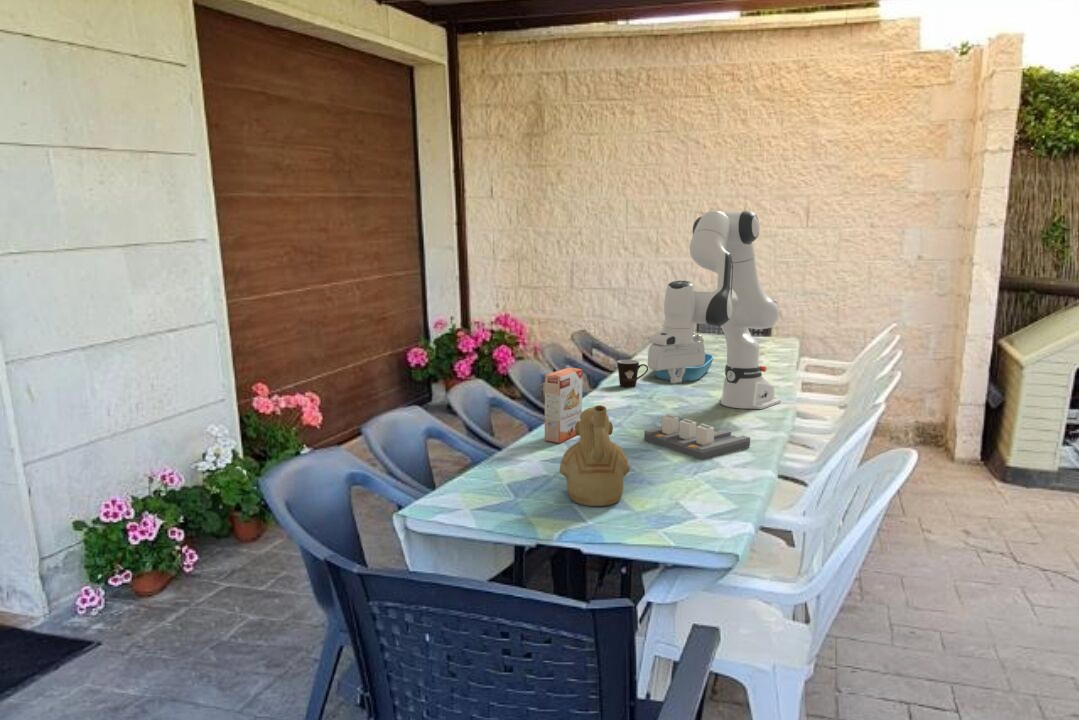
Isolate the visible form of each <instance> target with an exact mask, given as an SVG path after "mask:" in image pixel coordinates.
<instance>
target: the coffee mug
mask: <svg viewBox="0 0 1079 720" xmlns="http://www.w3.org/2000/svg"><path fill="white" fill-rule="evenodd" d="M616 363H617V371H618V372H617V373H618V380H619V381H618V383H619V387H620V388H623V387H624V388H625V389H629V388H628V387H633V388H636V387H637V381H638V380H639V379H640V378H642V377H643V376H645V375H646V374H647V372H648V371H649V367H648V364H645V363H642V364H640V361H639V360H636V359H620V360H617V362H616ZM642 366H644V367H645V368H646V370H645V371H644V372H643V373H642V374H640V375H639V376H638V374H639V373H638V372H639V369H640V368H641V367H642ZM635 386H636V387H635Z"/></svg>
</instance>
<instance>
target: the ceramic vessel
mask: <svg viewBox="0 0 1079 720" xmlns="http://www.w3.org/2000/svg"><path fill="white" fill-rule="evenodd" d="M607 410H608V409H607V407H606V406H605V405H598V404H597V405H595V406H593V407H589V408H586V409H584V410H582V413H581V415H580V419H581V421H578V422H576V424H575V433H576V436H579V440H578V441H577V442H576V443H574V444H572V445H570V446H569V447H568V448H567V449H566V451H565V452H564V454H563V457H562V459H561V462H560V466H559V473H560V474H561V475H562V476H564V477H565V478H566V487H567V488H566V489H567V493H568V495H569V497H570V498H571V500H573V501H574V502H575V503H577V504H579V505H582V506H587V507H607V506H611V505H614V504H616V503H618V502H619V501H620V500H621V498H622V496H623V493H624V477H625V476H626V475H628V473H630V469H631V468H630V463H629V460H628V458H627V454H626V453H625V452H624V450H623V448H622V447H621V446H620V445H619V444H616V443H614V442H613V441H611V437H610V436H611V435H612V434H613V429H614V427H613V426H614V425H613V423H612V421H609V420H610V419H609V418H610V417H609V415H608V413H607Z"/></svg>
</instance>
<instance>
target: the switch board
mask: <svg viewBox="0 0 1079 720" xmlns="http://www.w3.org/2000/svg"><path fill="white" fill-rule="evenodd" d="M692 421H693V422H696V423H697V426H700V425H699V424H698V421H695V420H692ZM679 426H680V422H679ZM697 426H696V434H697ZM710 426H711V427H713V428H714V443H710V444H706V445H701V444H698V443H696V437H695V438H690V439H686V440H685V439H682V438H679V432H677V433H672V434H665V433H662V426H659V427H654V428H650V429H646V430H644V432H643V433H644V435H643V437H644V439H643V440H644V441H646V442H649V443H651V444H655V445H657V444H658V445H657V446H660V445H661V447H663V446H665V447H664V448H666V447H667V448H666V449H669V448H670V449H669V450H672V449H673V451H676V452H678V453H681V454H684V455H687V456H689V457H692V456H693V457H692V458H695V457H696V459H698V458H699V460H702V461H703V460H706V459H708V458H712V457H713V456H714V457H718V456H720V455H721V454H722V455H725V454H724V453H726V454H729V453H733V452H736V450H737V451H740V450H739V449H741V450H744V449H743V448H745V449H747V448H746V447H749V446H750V447H751V437H750V436H747V435H740V436H736V435H732V431H730V430H726V429H725V430H721V431H719V430H716V429H715V427H714V426H713V425H710ZM750 447H749V448H750ZM732 451H733V452H732ZM728 452H729V453H728ZM717 455H718V456H717ZM714 457H713V458H714Z"/></svg>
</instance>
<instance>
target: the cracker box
mask: <svg viewBox="0 0 1079 720" xmlns="http://www.w3.org/2000/svg"><path fill="white" fill-rule="evenodd" d="M583 372H584V371H583V369H581V368H575V367H566V368H563V369H560V370H557V371H553V372H550V373H547V374H545V375H544V441H545V442H551V443H555V444H562V443H563V442H565V441H567V440H570V439H572V438H574V437H576V436H577V435H576V433H575V424H576V422H578V421H581V419H580V415H581V413H582V412H583V374H584V373H583Z"/></svg>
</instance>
